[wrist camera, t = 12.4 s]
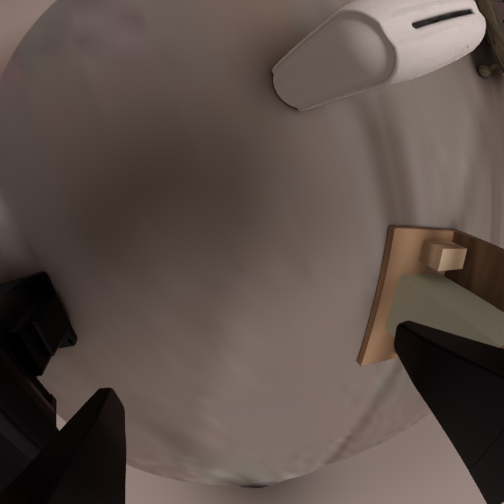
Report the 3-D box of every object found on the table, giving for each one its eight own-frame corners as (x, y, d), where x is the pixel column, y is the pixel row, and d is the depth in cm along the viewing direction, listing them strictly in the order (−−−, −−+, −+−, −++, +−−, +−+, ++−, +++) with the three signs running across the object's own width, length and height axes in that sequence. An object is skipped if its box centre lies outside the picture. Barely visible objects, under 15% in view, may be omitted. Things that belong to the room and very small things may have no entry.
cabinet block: (385, 328, 25) (469, 412, 13) (399, 275, 23) (505, 349, 12) (423, 320, 26) (502, 387, 14) (437, 272, 24) (531, 331, 13)
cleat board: (357, 361, 27) (410, 429, 17) (389, 225, 22) (481, 267, 13) (423, 344, 29) (476, 392, 19) (456, 229, 24) (531, 261, 15)
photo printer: (361, 25, 16) (474, -27, 5) (389, 68, 18) (512, 42, 6) (258, 70, 16) (352, -23, 5) (293, 121, 18) (425, 91, 7)
